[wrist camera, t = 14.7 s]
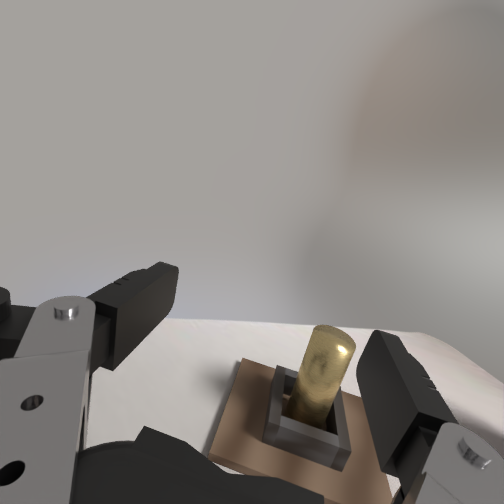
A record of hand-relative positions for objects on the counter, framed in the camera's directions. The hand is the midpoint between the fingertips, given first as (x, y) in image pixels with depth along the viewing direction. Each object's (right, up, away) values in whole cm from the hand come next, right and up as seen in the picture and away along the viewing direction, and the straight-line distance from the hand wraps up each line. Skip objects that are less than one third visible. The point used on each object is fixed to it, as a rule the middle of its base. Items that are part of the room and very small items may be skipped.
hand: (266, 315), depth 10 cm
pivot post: (+5, -17, +20) cm, 27 cm away
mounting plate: (+5, -18, +20) cm, 28 cm away
